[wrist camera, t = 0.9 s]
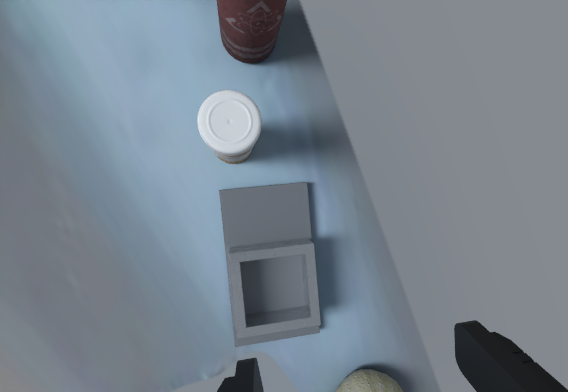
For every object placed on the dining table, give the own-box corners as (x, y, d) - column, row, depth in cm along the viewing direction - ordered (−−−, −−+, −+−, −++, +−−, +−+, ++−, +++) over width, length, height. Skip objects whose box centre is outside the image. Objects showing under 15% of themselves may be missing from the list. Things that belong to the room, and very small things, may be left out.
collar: (237, 325, 34) (237, 338, 31) (229, 247, 34) (228, 253, 31) (313, 313, 35) (320, 324, 33) (307, 238, 35) (313, 243, 32)
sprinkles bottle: (216, 121, 34) (201, 81, 21) (256, 128, 35) (266, 95, 21) (210, 161, 34) (191, 147, 21) (250, 168, 35) (257, 158, 21)
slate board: (235, 342, 35) (235, 346, 34) (219, 190, 34) (219, 190, 33) (317, 328, 37) (319, 332, 36) (305, 182, 36) (306, 182, 35)
